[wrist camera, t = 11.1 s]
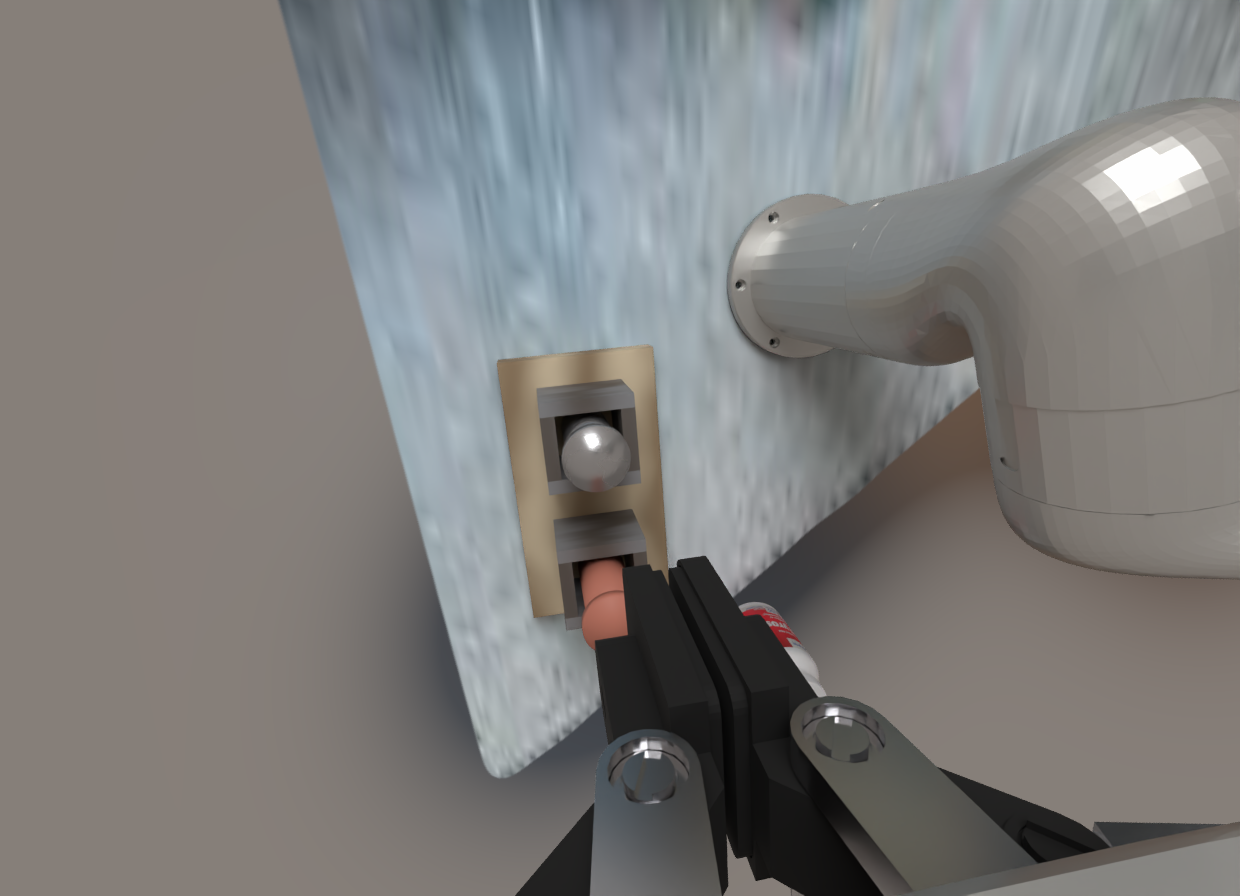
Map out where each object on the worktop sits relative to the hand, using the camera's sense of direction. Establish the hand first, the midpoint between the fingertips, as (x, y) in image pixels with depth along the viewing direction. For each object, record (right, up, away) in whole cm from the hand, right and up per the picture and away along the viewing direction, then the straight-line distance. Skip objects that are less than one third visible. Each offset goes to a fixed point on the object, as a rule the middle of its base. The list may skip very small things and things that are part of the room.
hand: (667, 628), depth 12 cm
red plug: (-3, -6, +35) cm, 36 cm away
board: (-4, +1, +38) cm, 38 cm away
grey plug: (-4, +5, +34) cm, 35 cm away
